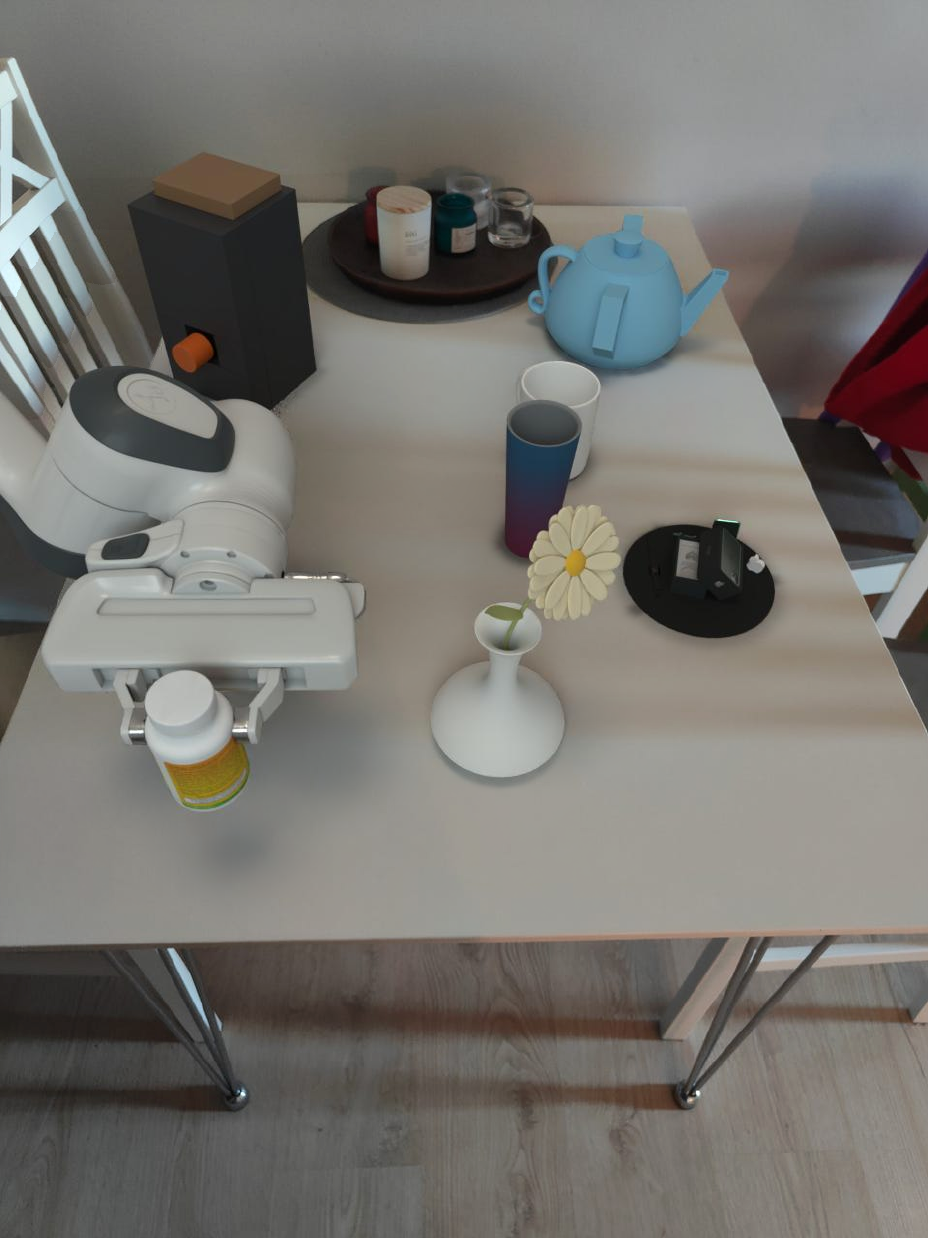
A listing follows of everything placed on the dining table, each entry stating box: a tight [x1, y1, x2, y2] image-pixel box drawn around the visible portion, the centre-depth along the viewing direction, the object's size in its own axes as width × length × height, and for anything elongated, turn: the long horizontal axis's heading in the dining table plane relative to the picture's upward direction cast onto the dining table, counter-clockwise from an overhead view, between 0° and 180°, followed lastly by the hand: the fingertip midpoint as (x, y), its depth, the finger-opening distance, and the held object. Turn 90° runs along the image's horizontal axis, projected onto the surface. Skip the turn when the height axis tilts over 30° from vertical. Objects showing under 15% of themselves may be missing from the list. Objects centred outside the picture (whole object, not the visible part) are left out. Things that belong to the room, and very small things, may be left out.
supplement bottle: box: [144, 670, 251, 813], centre depth 54 cm, size 5×5×10 cm
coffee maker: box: [126, 151, 317, 411], centre depth 94 cm, size 16×12×24 cm
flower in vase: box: [429, 503, 622, 778], centre depth 64 cm, size 13×11×25 cm
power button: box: [172, 333, 213, 372], centre depth 93 cm, size 3×3×3 cm
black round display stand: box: [622, 518, 776, 639], centre depth 83 cm, size 15×15×6 cm
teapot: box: [527, 213, 730, 370], centre depth 108 cm, size 19×19×14 cm
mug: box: [515, 360, 602, 481], centre depth 93 cm, size 12×8×10 cm
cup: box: [504, 400, 582, 559], centre depth 82 cm, size 7×7×15 cm
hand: (189, 740), depth 52 cm, fingers closed on supplement bottle, 5 cm apart
